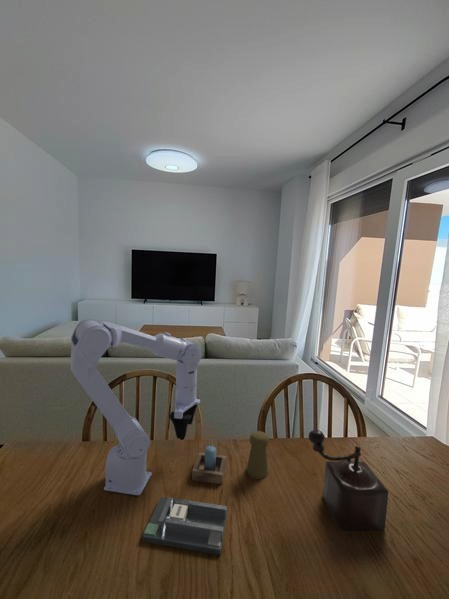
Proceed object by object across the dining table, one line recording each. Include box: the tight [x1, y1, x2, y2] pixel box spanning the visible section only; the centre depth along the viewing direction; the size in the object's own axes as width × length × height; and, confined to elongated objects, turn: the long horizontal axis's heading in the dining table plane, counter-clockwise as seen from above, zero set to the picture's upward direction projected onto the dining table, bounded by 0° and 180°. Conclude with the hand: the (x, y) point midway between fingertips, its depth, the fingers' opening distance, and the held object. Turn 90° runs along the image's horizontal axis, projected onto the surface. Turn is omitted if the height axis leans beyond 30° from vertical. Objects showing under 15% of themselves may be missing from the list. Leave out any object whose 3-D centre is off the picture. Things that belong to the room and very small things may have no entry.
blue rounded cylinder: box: [204, 445, 217, 471], centre depth 81 cm, size 3×3×6 cm
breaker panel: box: [142, 496, 228, 556], centre depth 64 cm, size 16×10×3 cm, turn 82°
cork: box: [246, 430, 270, 480], centre depth 82 cm, size 6×6×11 cm
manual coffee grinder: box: [308, 429, 389, 532], centre depth 69 cm, size 16×11×18 cm
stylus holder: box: [191, 452, 227, 485], centre depth 81 cm, size 8×8×3 cm
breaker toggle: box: [170, 504, 188, 521], centre depth 64 cm, size 3×3×2 cm
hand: (184, 430), depth 83 cm, fingers open, 7 cm apart
